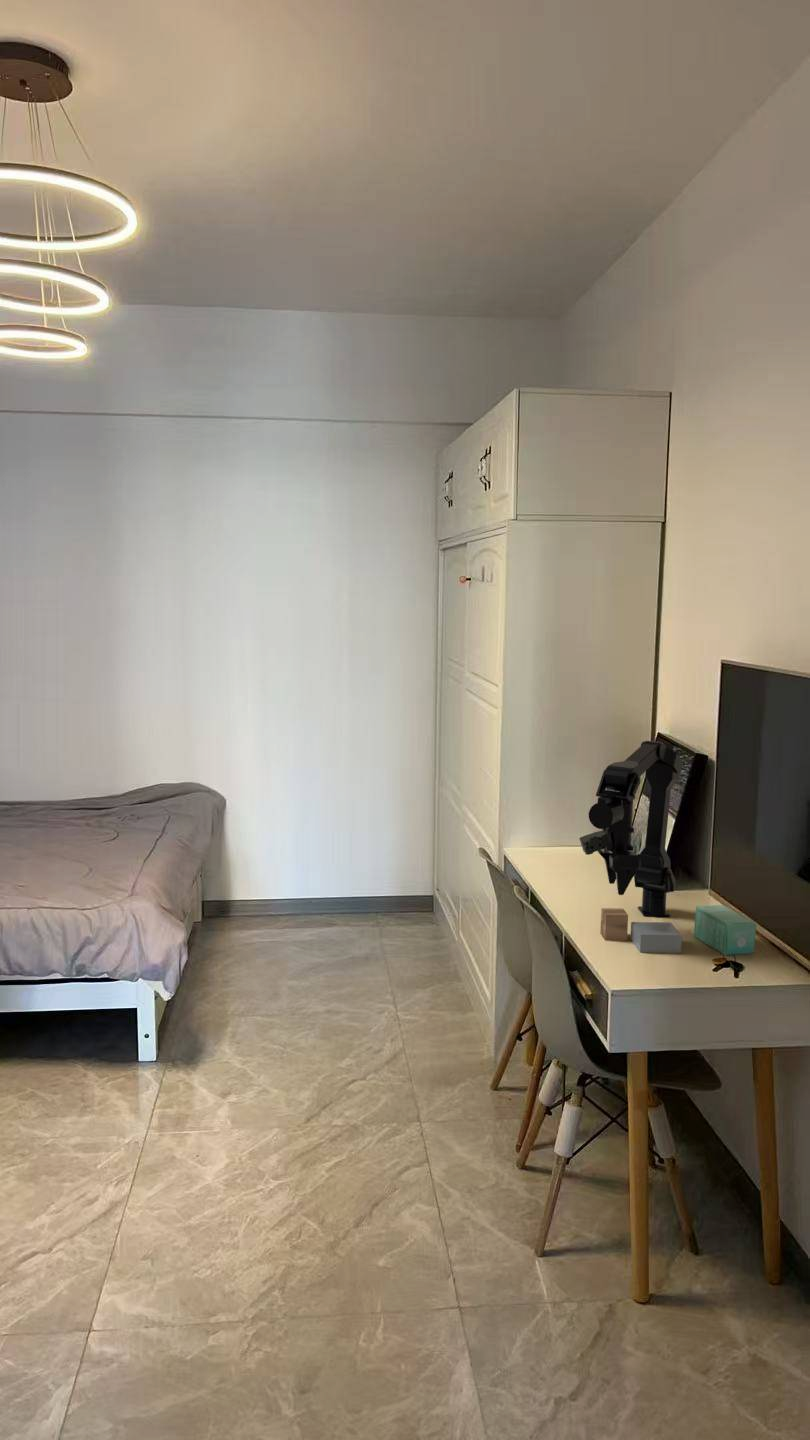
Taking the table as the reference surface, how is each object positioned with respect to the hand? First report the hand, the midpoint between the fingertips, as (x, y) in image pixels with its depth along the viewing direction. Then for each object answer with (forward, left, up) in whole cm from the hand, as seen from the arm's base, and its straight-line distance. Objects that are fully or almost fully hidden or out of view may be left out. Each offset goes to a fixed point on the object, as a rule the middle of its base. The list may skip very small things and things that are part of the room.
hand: (616, 889), depth 245 cm
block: (0, 0, -11) cm, 11 cm away
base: (+6, +8, -11) cm, 15 cm away
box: (+5, +23, -12) cm, 27 cm away
